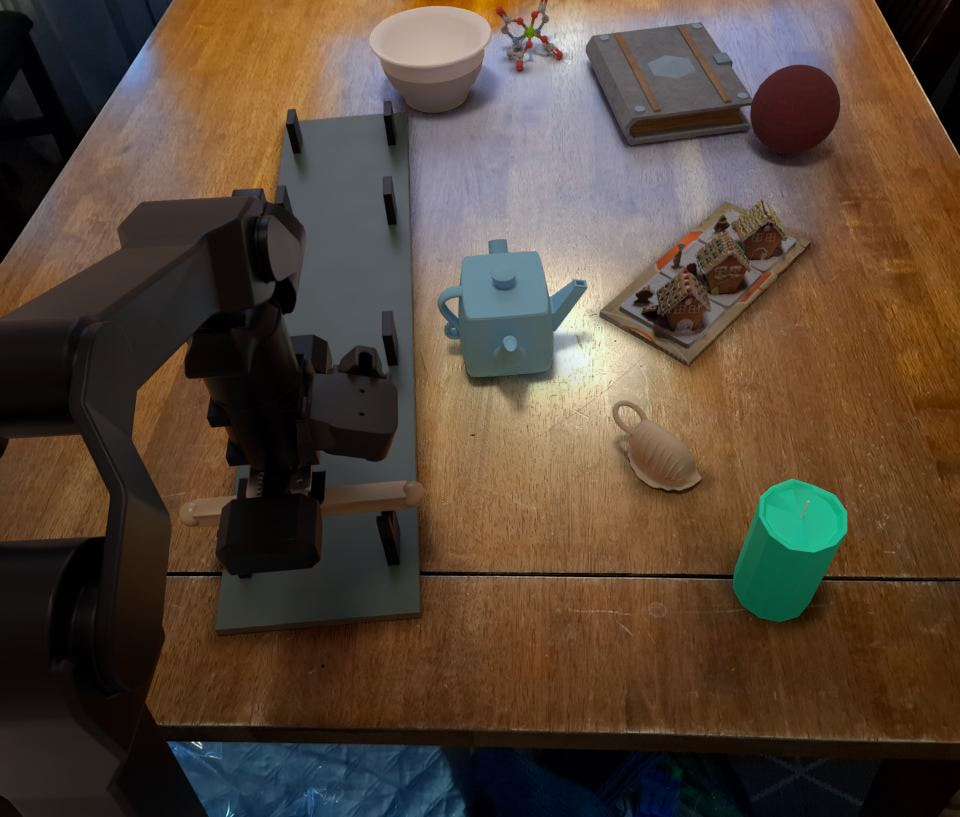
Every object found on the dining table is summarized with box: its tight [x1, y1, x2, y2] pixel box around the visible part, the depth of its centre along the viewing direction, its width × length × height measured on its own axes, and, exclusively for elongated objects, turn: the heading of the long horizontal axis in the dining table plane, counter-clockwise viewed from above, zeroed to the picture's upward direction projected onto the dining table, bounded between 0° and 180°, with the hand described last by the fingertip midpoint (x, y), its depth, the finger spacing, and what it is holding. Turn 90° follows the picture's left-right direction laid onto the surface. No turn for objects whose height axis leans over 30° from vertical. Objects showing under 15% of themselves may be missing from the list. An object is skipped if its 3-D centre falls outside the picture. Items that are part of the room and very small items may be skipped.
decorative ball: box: [749, 64, 841, 155], centre depth 100 cm, size 10×10×10 cm
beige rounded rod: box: [178, 480, 426, 529], centre depth 64 cm, size 2×19×2 cm, turn 94°
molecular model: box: [495, 0, 564, 71], centre depth 119 cm, size 7×8×7 cm
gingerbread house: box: [598, 197, 813, 367], centre depth 87 cm, size 11×23×7 cm, turn 137°
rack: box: [214, 100, 422, 636], centre depth 87 cm, size 72×16×8 cm, turn 4°
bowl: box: [368, 5, 493, 114], centre depth 113 cm, size 16×16×9 cm
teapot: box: [437, 238, 588, 378], centre depth 81 cm, size 18×14×10 cm
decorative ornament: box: [611, 399, 703, 492], centre depth 73 cm, size 4×8×5 cm, turn 38°
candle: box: [732, 478, 848, 623], centre depth 62 cm, size 6×6×12 cm
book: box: [585, 21, 753, 146], centre depth 111 cm, size 21×16×5 cm
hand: (305, 511), depth 65 cm, fingers closed on beige rounded rod, 2 cm apart
